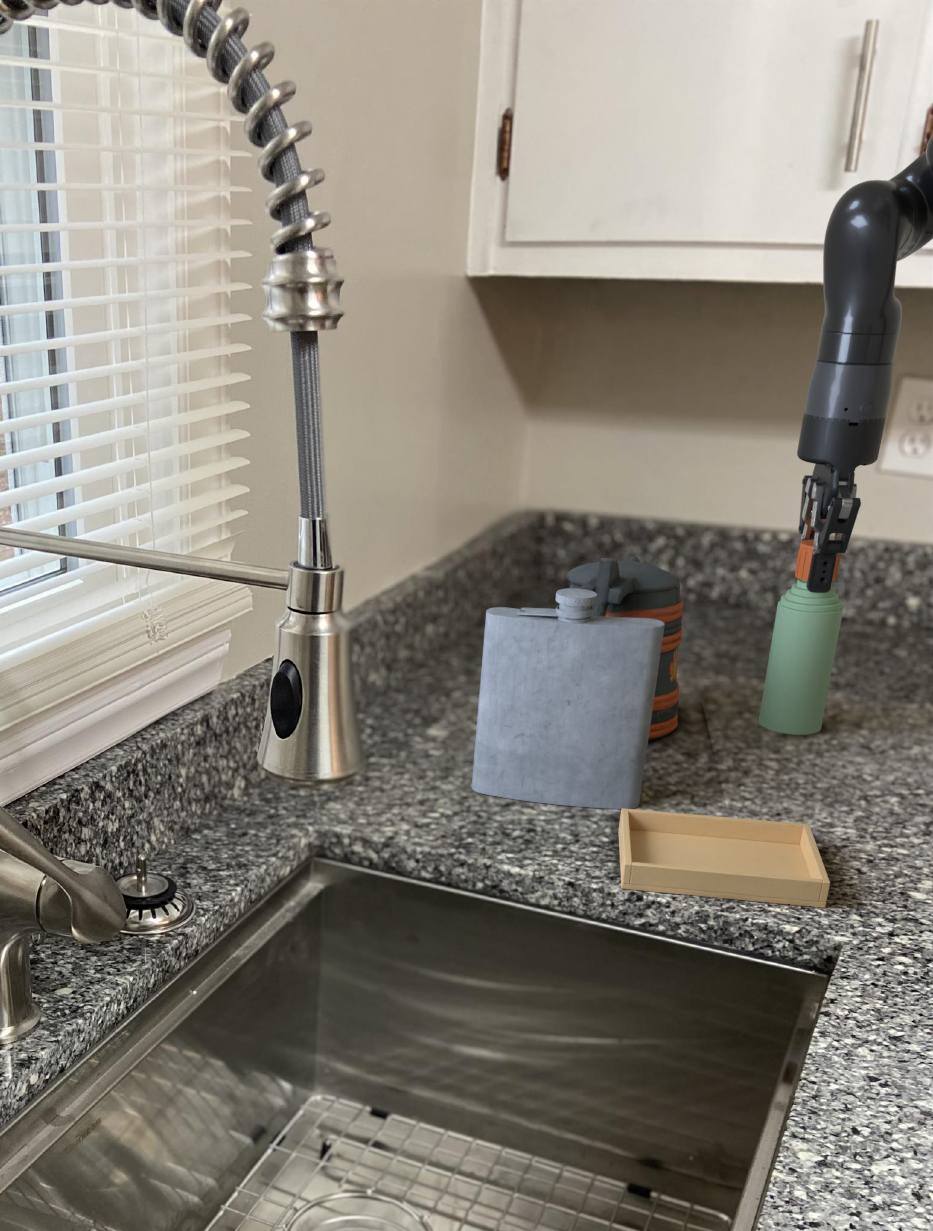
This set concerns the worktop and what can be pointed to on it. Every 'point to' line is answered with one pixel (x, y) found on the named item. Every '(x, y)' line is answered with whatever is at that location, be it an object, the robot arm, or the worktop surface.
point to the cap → (809, 561)
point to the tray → (721, 858)
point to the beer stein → (641, 596)
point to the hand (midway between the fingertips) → (813, 586)
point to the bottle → (800, 660)
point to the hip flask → (565, 704)
